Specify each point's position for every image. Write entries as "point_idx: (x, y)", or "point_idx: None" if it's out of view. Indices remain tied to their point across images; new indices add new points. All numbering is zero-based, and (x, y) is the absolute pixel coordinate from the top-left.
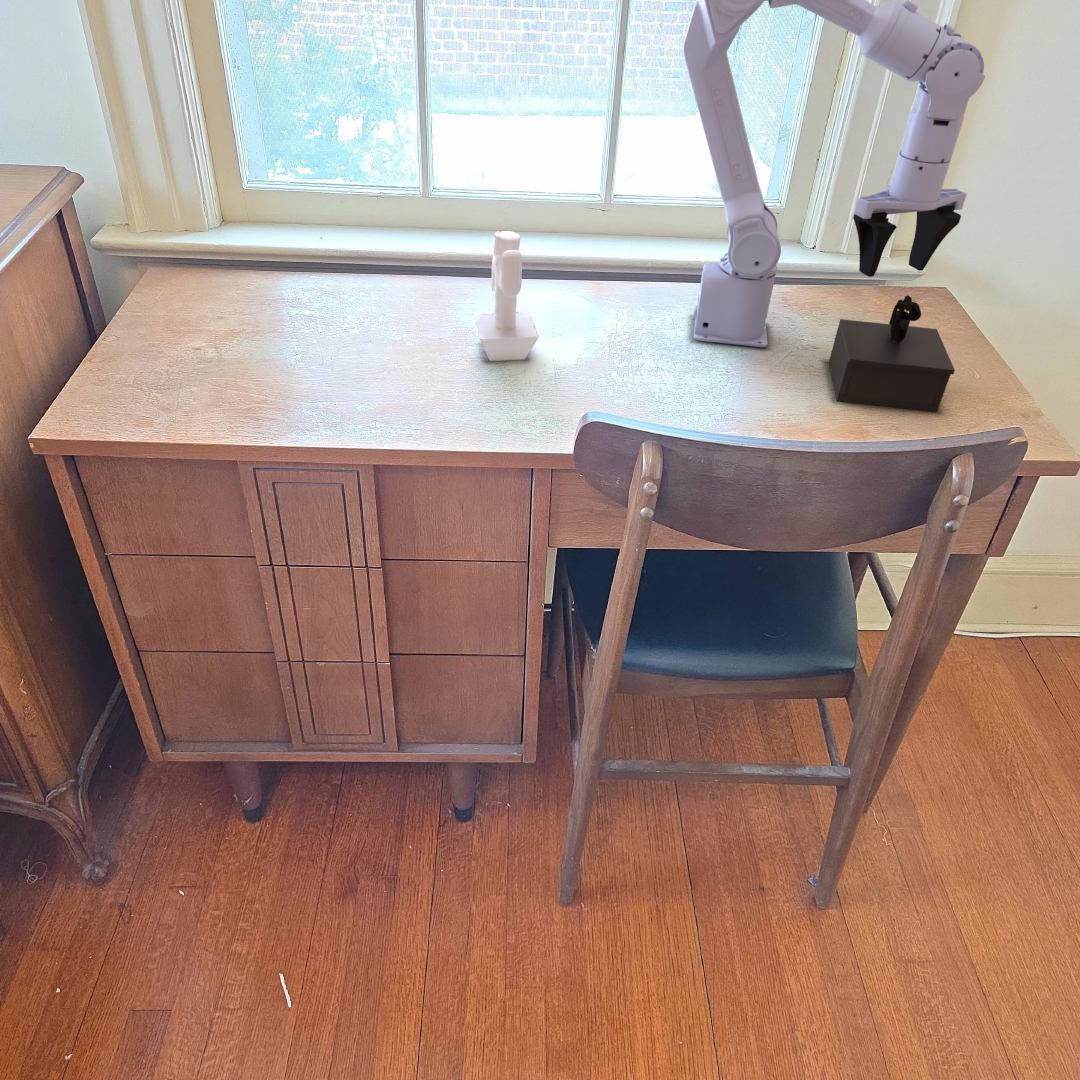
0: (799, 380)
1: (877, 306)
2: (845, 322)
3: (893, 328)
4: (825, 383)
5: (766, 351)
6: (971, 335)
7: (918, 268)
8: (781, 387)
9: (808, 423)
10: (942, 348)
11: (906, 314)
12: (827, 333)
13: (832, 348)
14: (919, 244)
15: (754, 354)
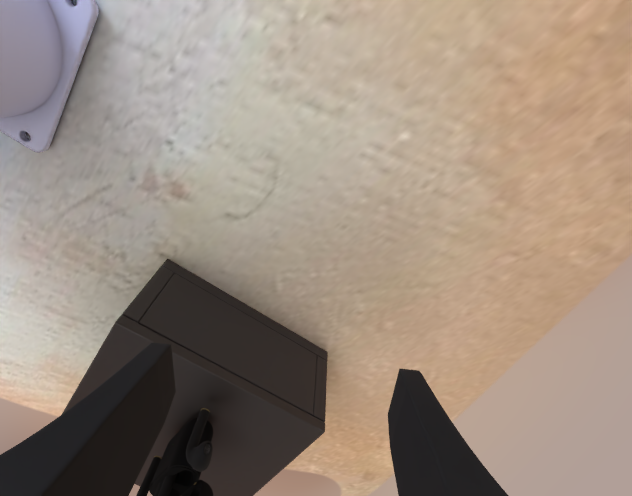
0: (69, 289)
1: (553, 36)
2: (119, 340)
3: (164, 455)
4: (116, 314)
5: (46, 161)
6: (592, 283)
7: (389, 415)
8: (22, 295)
9: (27, 386)
10: (263, 479)
11: (191, 479)
12: (258, 138)
13: (152, 277)
14: (416, 471)
15: (9, 163)
